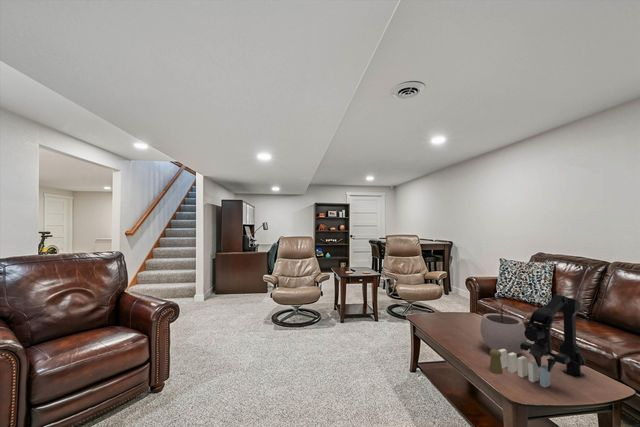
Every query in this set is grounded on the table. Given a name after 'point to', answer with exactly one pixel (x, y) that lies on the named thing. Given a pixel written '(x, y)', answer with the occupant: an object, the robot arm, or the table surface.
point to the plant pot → (503, 332)
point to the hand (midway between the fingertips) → (544, 370)
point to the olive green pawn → (495, 361)
